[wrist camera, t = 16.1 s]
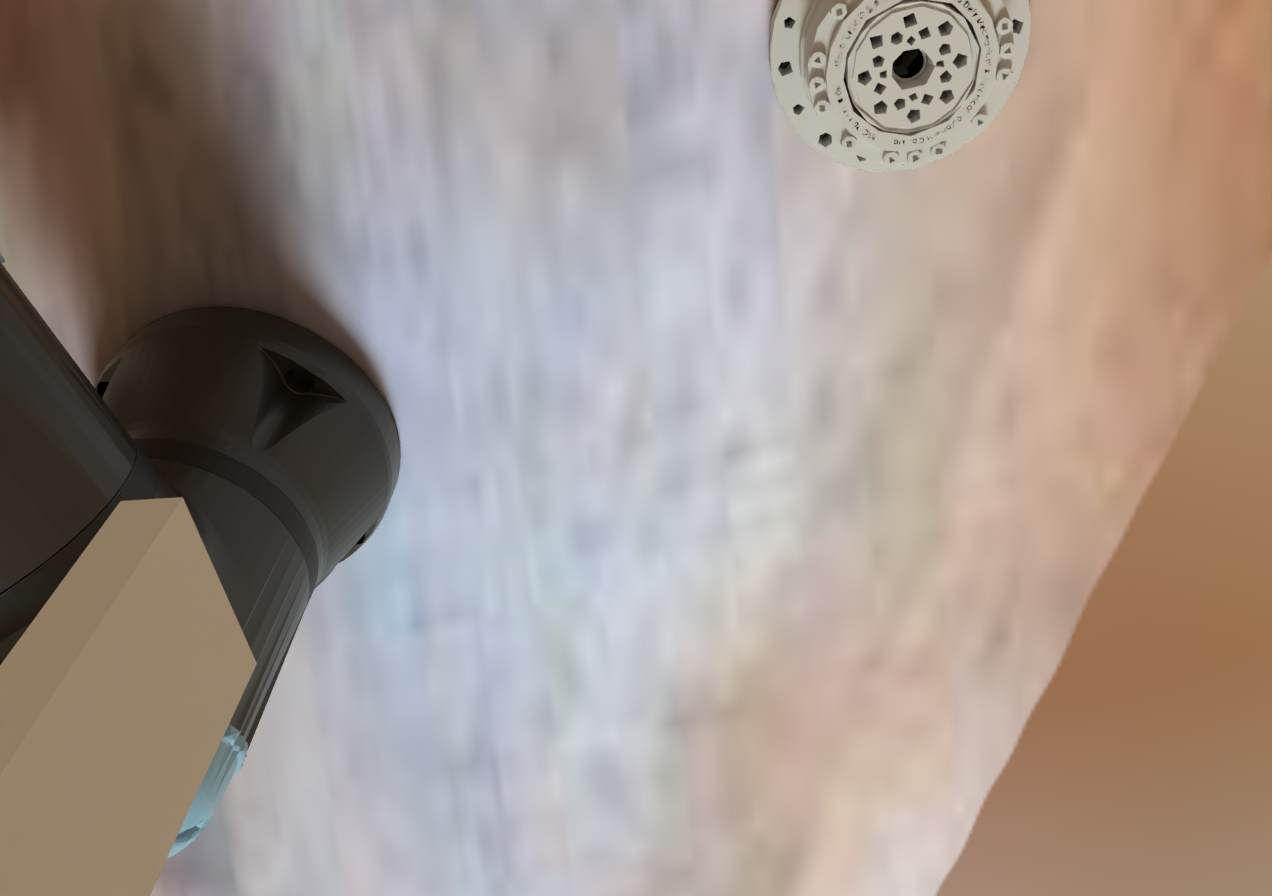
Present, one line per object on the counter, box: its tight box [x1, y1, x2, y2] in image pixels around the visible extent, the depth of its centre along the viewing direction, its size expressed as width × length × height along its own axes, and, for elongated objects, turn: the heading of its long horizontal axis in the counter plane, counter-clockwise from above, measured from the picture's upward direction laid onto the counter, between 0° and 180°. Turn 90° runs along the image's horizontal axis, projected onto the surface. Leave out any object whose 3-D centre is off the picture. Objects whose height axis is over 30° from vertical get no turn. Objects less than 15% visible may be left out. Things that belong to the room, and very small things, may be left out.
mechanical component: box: [769, 0, 1031, 172], centre depth 40 cm, size 10×4×10 cm
